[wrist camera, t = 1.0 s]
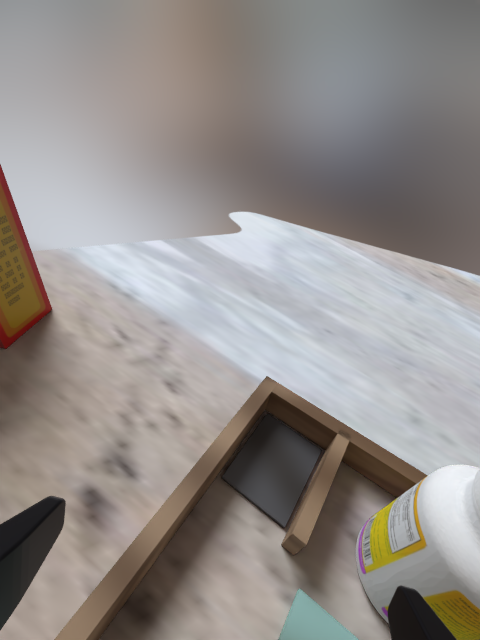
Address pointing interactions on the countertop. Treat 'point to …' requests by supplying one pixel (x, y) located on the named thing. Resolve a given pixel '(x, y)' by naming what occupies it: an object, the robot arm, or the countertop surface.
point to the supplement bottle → (428, 548)
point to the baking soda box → (17, 275)
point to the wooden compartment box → (257, 499)
